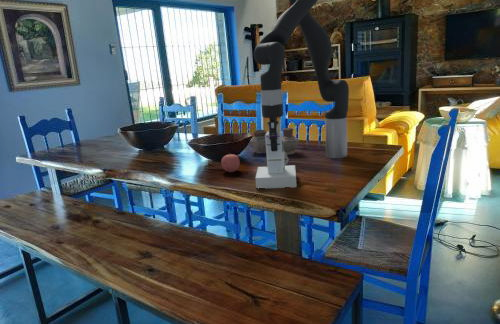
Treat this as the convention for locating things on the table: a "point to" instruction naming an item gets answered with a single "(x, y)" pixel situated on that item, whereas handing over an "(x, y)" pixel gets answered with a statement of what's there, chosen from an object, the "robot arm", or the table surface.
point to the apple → (230, 162)
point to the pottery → (288, 141)
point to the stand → (276, 178)
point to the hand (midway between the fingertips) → (274, 148)
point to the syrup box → (275, 155)
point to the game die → (286, 158)
